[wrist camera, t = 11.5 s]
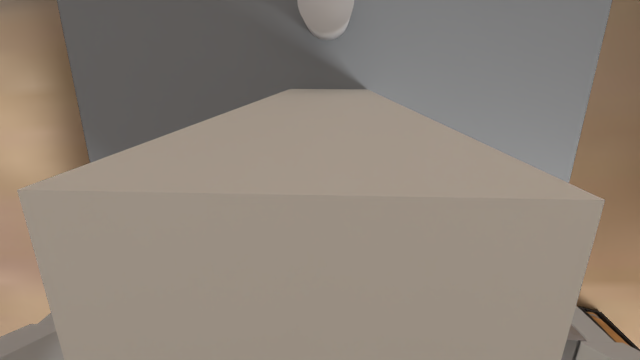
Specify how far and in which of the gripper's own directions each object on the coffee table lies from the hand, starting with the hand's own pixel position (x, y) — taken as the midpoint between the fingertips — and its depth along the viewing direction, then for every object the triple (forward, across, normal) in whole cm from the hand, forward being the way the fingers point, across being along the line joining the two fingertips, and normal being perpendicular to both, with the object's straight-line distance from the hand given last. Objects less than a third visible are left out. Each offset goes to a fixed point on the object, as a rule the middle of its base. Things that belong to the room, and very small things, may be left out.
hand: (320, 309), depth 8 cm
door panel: (+7, 0, 0) cm, 7 cm away
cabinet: (+15, 0, 0) cm, 15 cm away
